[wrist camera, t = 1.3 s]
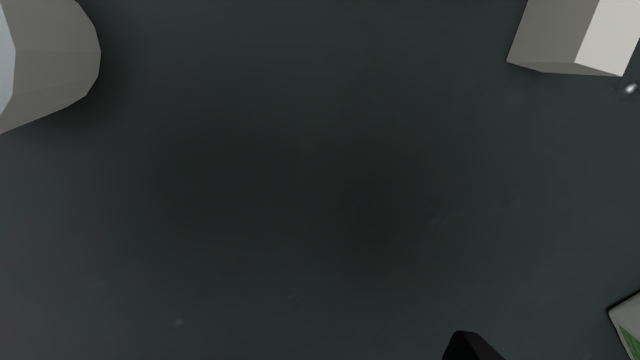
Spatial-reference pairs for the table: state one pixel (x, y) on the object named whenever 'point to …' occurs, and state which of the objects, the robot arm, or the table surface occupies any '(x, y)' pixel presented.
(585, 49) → the wall
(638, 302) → the skincare box
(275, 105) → the table surface
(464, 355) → the robot arm
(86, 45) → the white cup
